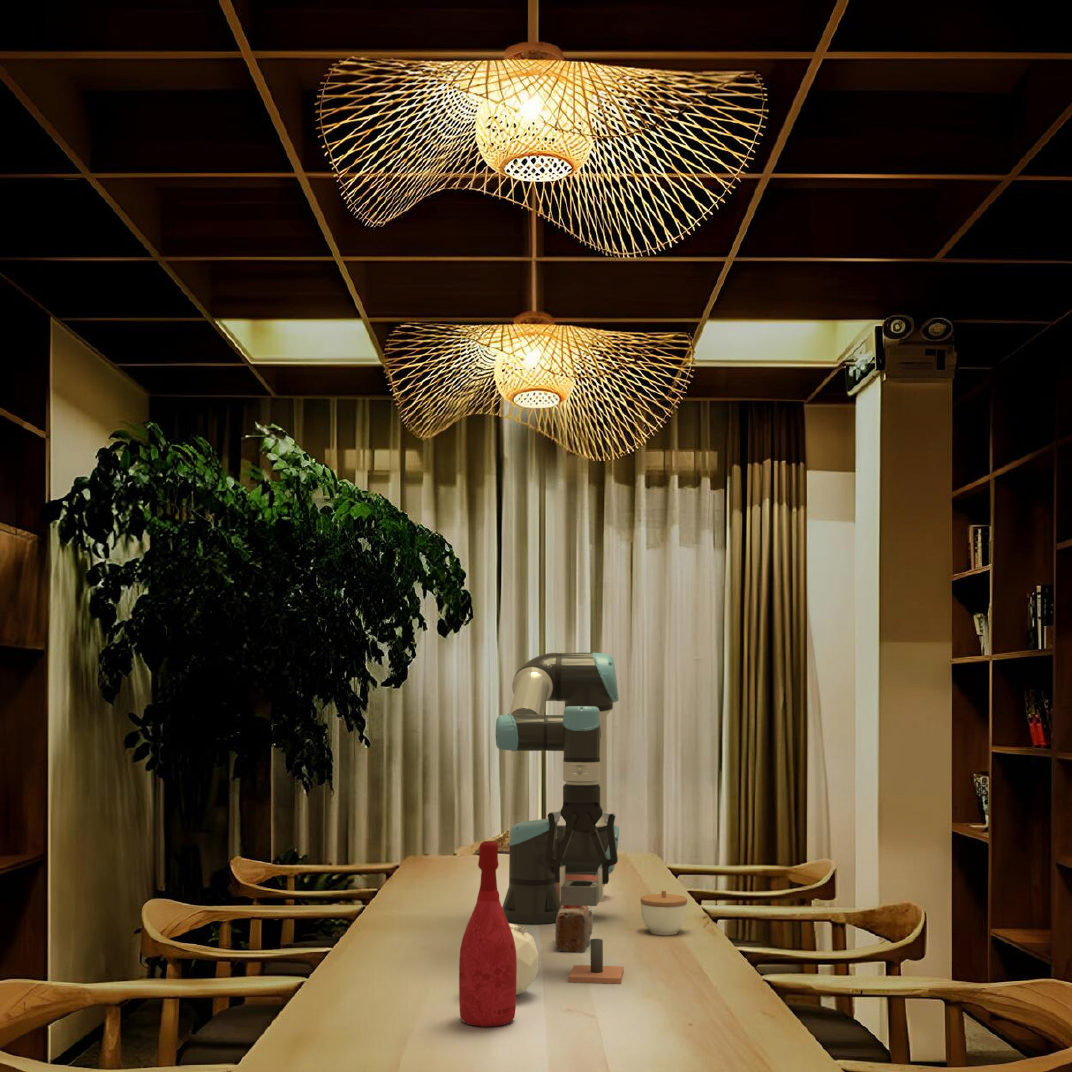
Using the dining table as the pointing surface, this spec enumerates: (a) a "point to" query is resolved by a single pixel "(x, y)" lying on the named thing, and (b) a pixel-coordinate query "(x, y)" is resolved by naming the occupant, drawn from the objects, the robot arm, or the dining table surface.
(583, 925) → the food item
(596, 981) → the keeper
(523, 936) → the geodesic sphere
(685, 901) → the lidded jar
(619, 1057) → the dining table surface
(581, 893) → the grey hollow block
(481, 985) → the wine bottle
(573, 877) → the cell model
